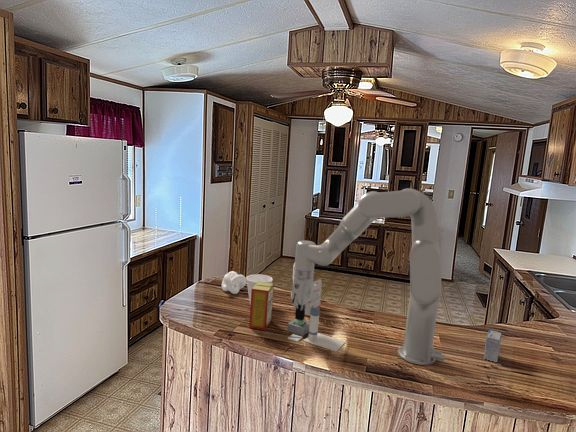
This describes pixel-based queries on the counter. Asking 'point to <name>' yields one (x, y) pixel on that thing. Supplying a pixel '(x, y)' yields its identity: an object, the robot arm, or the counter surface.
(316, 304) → the ink cartridge box
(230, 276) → the white lumpy rounded part
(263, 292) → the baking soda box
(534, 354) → the counter surface
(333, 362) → the counter surface
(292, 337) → the card
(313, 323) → the marker
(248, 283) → the cup
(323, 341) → the paper
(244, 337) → the counter surface
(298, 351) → the counter surface
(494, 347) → the medicine box
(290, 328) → the button housing
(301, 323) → the button
